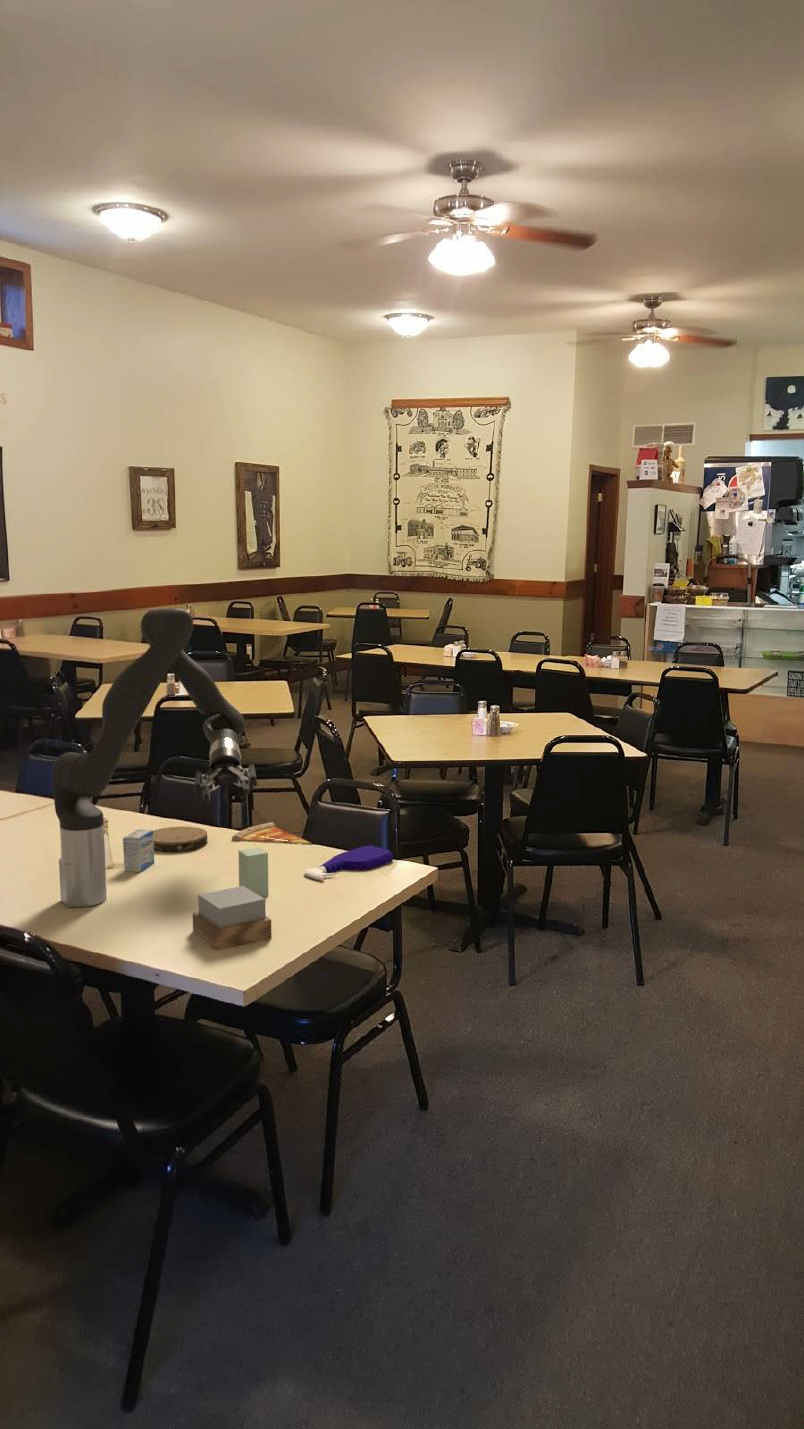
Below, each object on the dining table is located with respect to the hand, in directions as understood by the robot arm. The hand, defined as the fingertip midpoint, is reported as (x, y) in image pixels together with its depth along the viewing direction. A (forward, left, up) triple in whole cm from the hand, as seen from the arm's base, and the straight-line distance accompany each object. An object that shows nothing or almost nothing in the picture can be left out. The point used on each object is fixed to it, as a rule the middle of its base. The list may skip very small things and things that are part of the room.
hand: (226, 796), depth 230 cm
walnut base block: (-11, -28, -22) cm, 37 cm away
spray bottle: (+31, 0, -23) cm, 39 cm away
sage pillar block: (+3, -7, -22) cm, 23 cm away
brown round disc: (+2, +41, -22) cm, 47 cm away
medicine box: (-13, +26, -22) cm, 36 cm away
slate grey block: (-11, -28, -18) cm, 35 cm away
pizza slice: (+24, +33, -23) cm, 47 cm away
